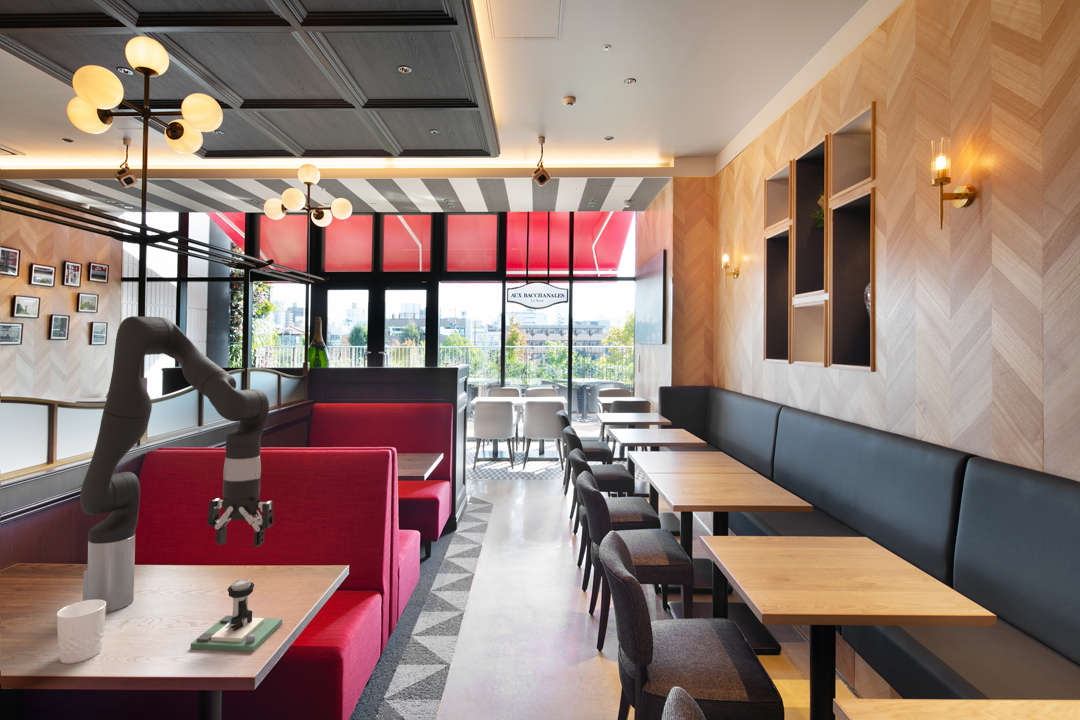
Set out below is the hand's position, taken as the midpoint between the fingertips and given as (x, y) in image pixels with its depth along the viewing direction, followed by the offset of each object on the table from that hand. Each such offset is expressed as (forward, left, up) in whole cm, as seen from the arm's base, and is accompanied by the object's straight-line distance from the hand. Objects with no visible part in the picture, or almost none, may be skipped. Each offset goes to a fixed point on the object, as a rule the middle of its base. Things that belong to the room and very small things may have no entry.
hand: (239, 545), depth 121 cm
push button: (+1, -1, -19) cm, 19 cm away
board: (+1, -1, -21) cm, 20 cm away
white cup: (-27, -11, -21) cm, 36 cm away
